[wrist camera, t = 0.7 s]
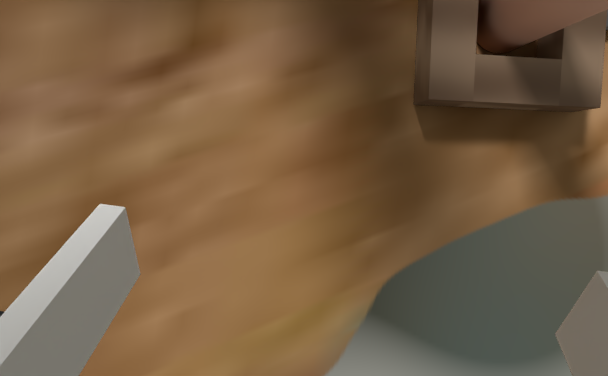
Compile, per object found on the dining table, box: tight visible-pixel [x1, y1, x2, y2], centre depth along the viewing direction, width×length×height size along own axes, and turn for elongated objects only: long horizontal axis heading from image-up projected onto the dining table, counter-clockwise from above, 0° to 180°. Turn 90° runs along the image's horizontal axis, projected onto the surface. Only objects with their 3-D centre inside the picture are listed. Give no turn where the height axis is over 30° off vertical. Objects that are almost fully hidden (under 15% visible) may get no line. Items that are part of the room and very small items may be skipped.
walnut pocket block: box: [414, 0, 607, 112], centre depth 33 cm, size 14×14×3 cm
